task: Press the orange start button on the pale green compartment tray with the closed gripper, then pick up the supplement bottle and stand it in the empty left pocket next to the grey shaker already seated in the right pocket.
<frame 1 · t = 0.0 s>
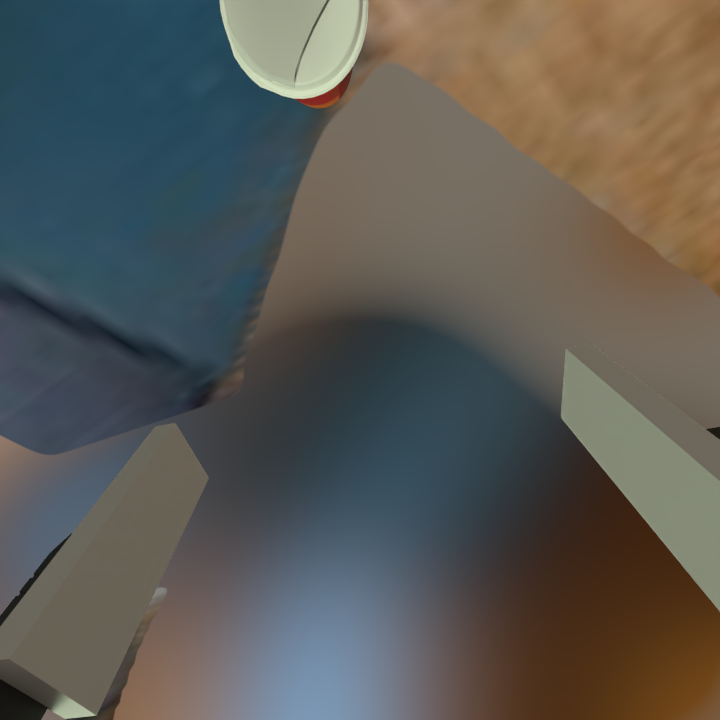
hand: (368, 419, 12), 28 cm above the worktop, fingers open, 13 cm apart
paper cup: (317, 69, 29), on the worktop
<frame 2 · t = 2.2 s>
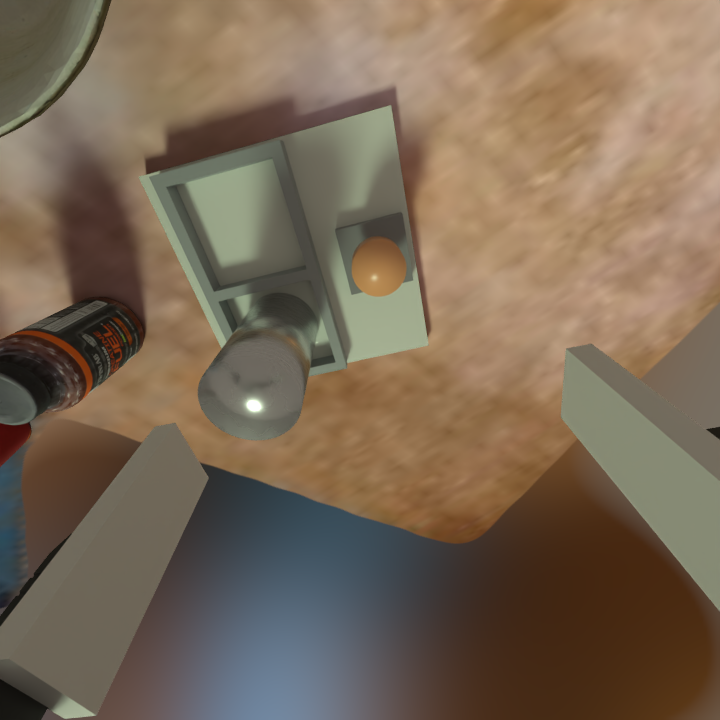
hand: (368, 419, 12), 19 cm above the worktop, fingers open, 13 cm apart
grey shaker: (283, 326, 30), point 1 cm above the worktop, touching pale green compartment tray
paper cup: (3, 422, 36), on the worktop
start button: (378, 266, 24), point 5 cm above the worktop, slide at 0.0 cm
supplement bottle: (113, 325, 31), on the worktop
pale green compartment tray: (303, 268, 29), on the worktop
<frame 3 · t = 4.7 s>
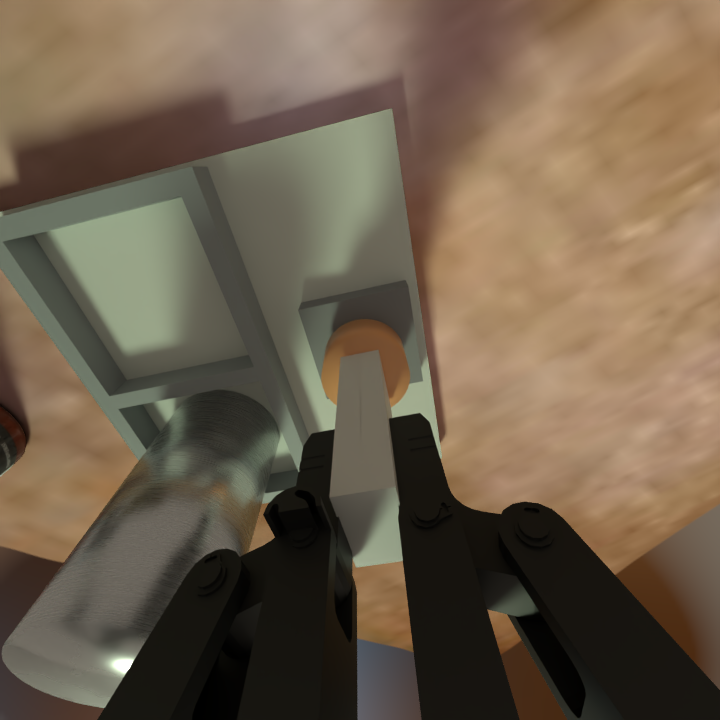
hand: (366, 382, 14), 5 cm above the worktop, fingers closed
grey shaker: (227, 432, 20), point 1 cm above the worktop, touching pale green compartment tray
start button: (365, 366, 15), point 4 cm above the worktop, slide at 1.2 cm, touching gripper
pale green compartment tray: (255, 352, 19), on the worktop
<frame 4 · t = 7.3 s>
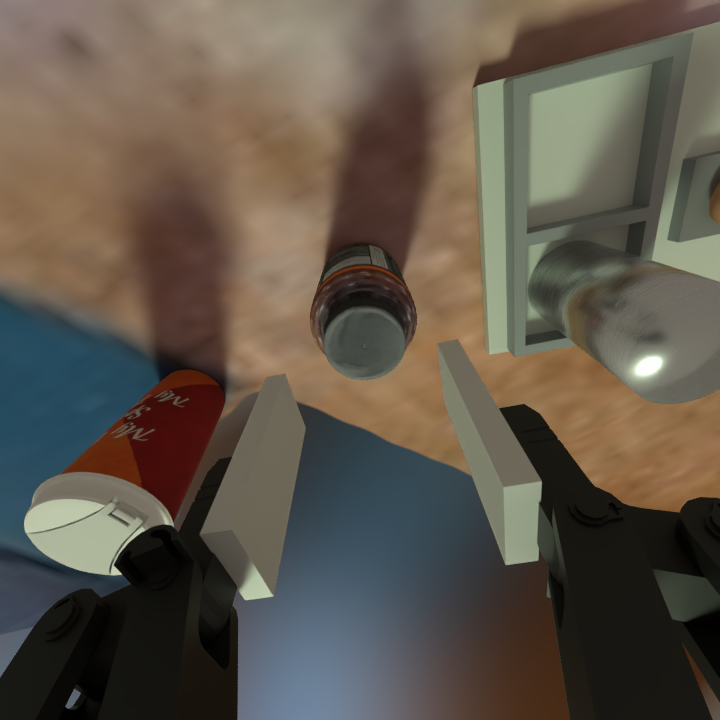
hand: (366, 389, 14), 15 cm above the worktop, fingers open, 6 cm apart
grey shaker: (569, 282, 26), point 1 cm above the worktop, touching pale green compartment tray
paper cup: (194, 394, 32), on the worktop
supplement bottle: (361, 280, 27), on the worktop
pale green compartment tray: (610, 212, 24), on the worktop
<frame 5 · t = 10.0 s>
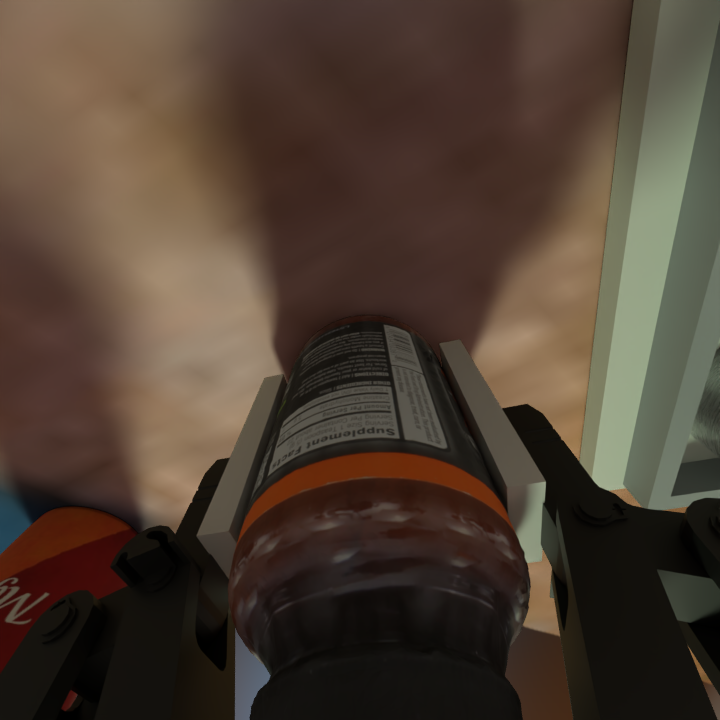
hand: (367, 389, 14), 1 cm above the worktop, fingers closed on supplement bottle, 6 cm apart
paper cup: (93, 536, 19), on the worktop
supplement bottle: (366, 374, 15), on the worktop, touching gripper
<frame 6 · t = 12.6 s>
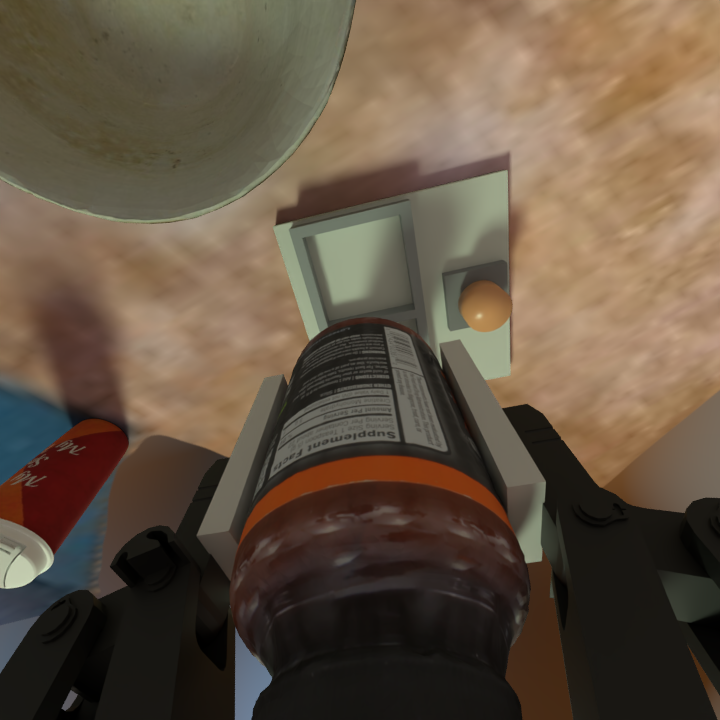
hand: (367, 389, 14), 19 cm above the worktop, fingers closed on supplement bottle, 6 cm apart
paper cup: (103, 437, 39), on the worktop
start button: (484, 306, 28), point 4 cm above the worktop, slide at 1.2 cm
supplement bottle: (366, 376, 15), point 18 cm above the worktop, touching gripper
pale green compartment tray: (403, 305, 31), on the worktop
when the fingers open (4 cm above the worktop, at t = 15.5 s): supplement bottle drops 2 cm, resting on pale green compartment tray.
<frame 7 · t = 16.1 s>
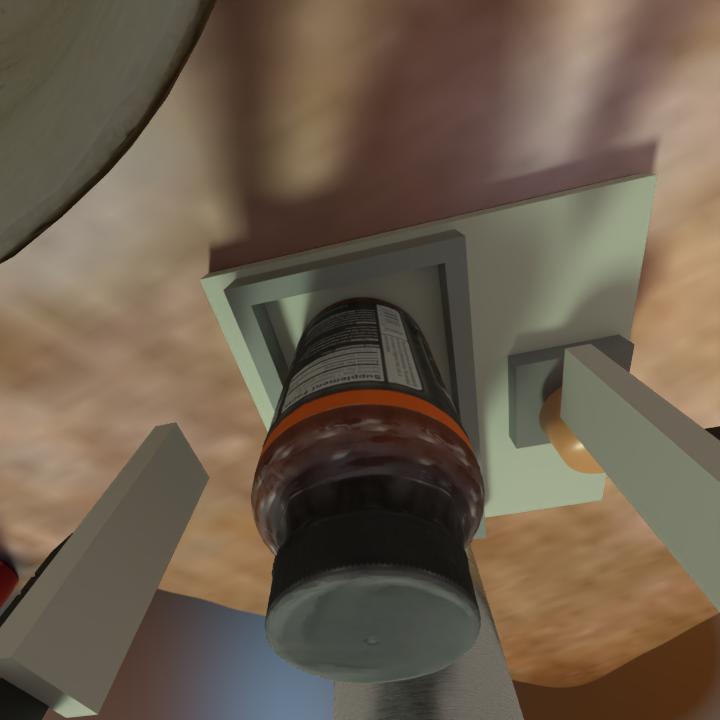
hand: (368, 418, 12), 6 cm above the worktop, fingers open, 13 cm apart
grey shaker: (394, 476, 20), point 1 cm above the worktop, touching pale green compartment tray
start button: (592, 425, 15), point 4 cm above the worktop, slide at 1.2 cm
supplement bottle: (362, 351, 16), point 1 cm above the worktop, touching pale green compartment tray
pale green compartment tray: (435, 399, 19), on the worktop
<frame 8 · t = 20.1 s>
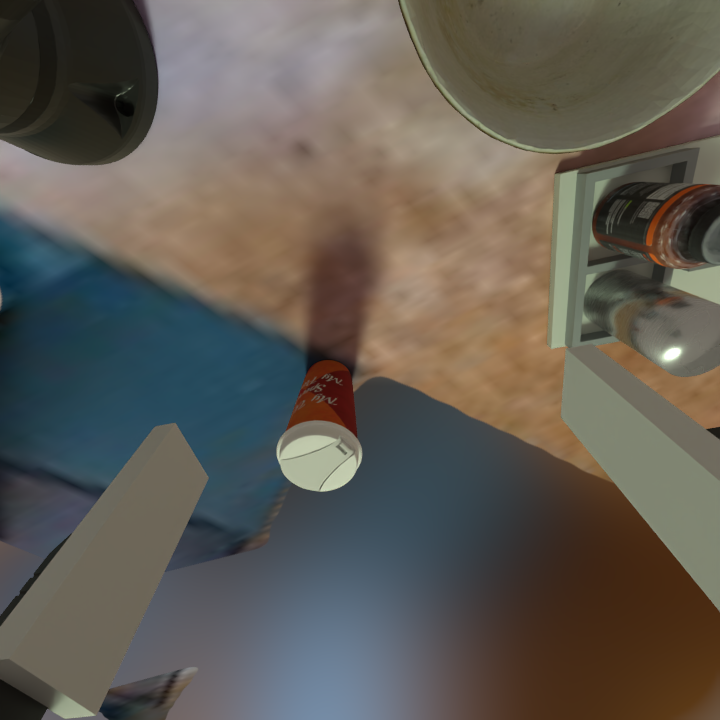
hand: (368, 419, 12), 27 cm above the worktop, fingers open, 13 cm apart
grey shaker: (611, 297, 37), point 1 cm above the worktop, touching pale green compartment tray
paper cup: (328, 378, 43), on the worktop
supplement bottle: (620, 215, 33), point 1 cm above the worktop, touching pale green compartment tray
pale green compartment tray: (641, 250, 36), on the worktop
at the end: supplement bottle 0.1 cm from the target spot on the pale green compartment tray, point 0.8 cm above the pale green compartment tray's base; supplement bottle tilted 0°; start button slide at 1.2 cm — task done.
